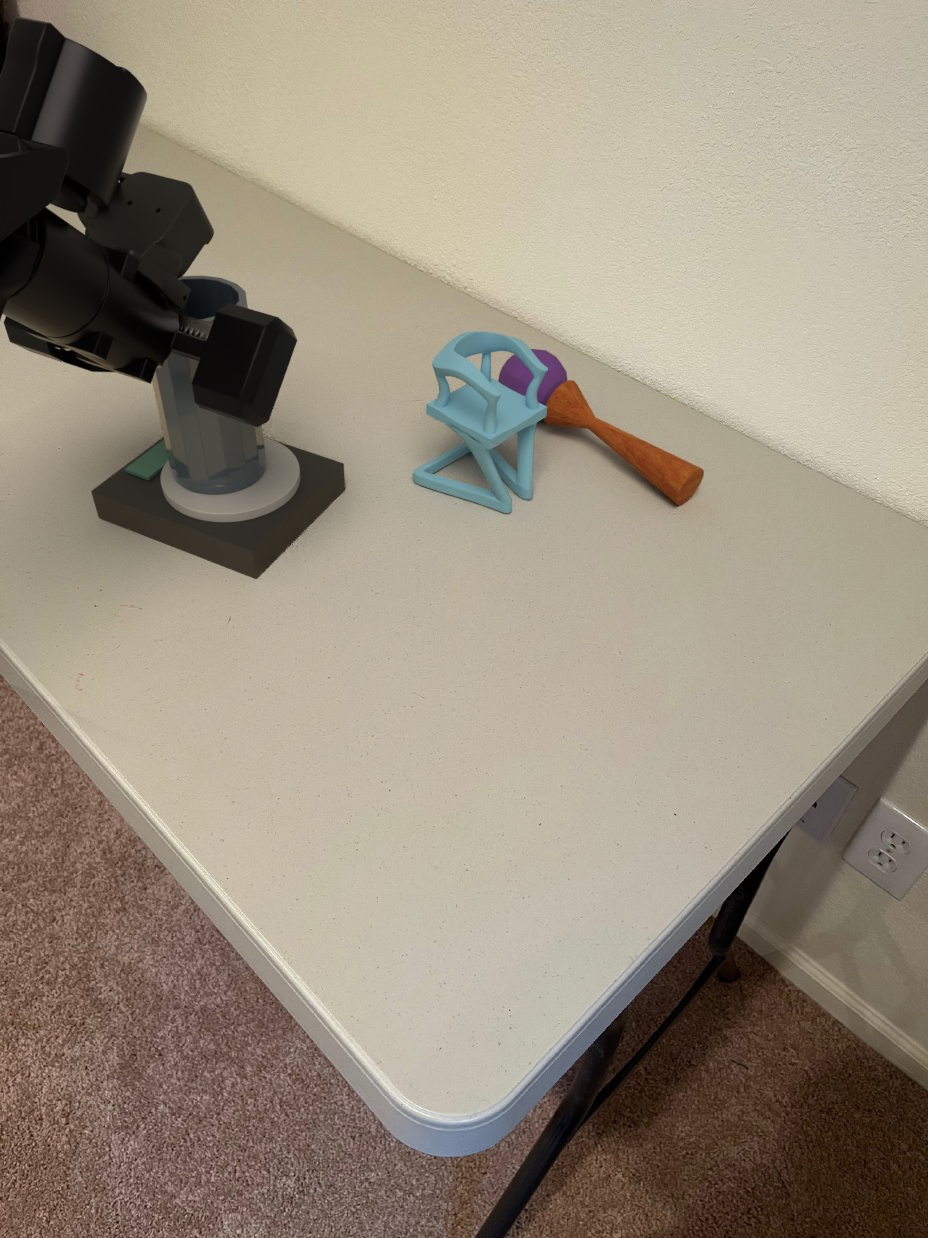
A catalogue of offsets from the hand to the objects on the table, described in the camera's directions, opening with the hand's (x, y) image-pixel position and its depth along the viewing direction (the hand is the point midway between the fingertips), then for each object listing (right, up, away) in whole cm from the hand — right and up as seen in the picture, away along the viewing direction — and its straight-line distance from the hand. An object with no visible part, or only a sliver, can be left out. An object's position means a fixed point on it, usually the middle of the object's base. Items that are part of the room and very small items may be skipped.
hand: (218, 378), depth 64 cm
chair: (+18, -6, +10) cm, 22 cm away
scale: (-1, -8, +6) cm, 10 cm away
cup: (-1, -6, +4) cm, 7 cm away
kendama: (+28, -2, +14) cm, 31 cm away
